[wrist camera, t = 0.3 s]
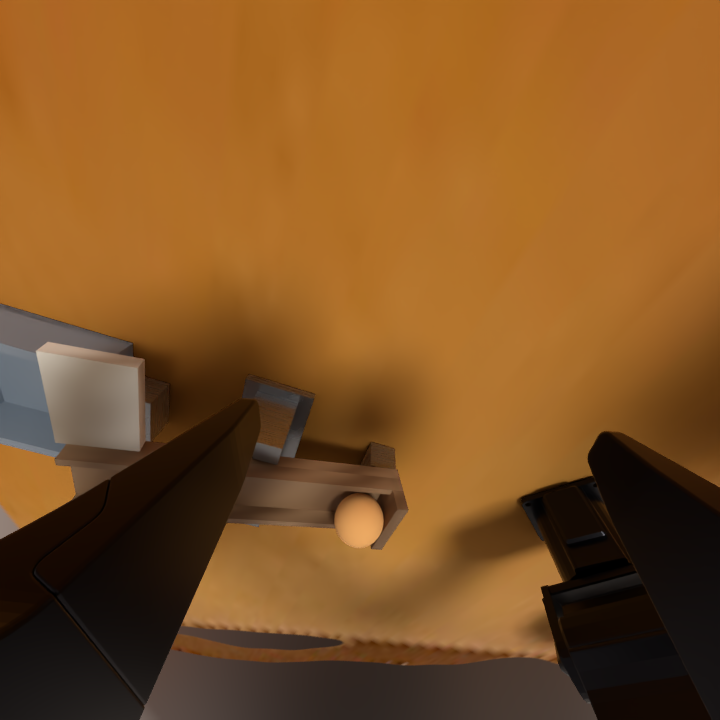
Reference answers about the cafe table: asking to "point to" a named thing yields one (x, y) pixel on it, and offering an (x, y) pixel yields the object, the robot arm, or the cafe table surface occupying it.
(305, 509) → the lever
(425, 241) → the cafe table surface
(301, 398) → the stand
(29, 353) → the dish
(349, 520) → the ball
